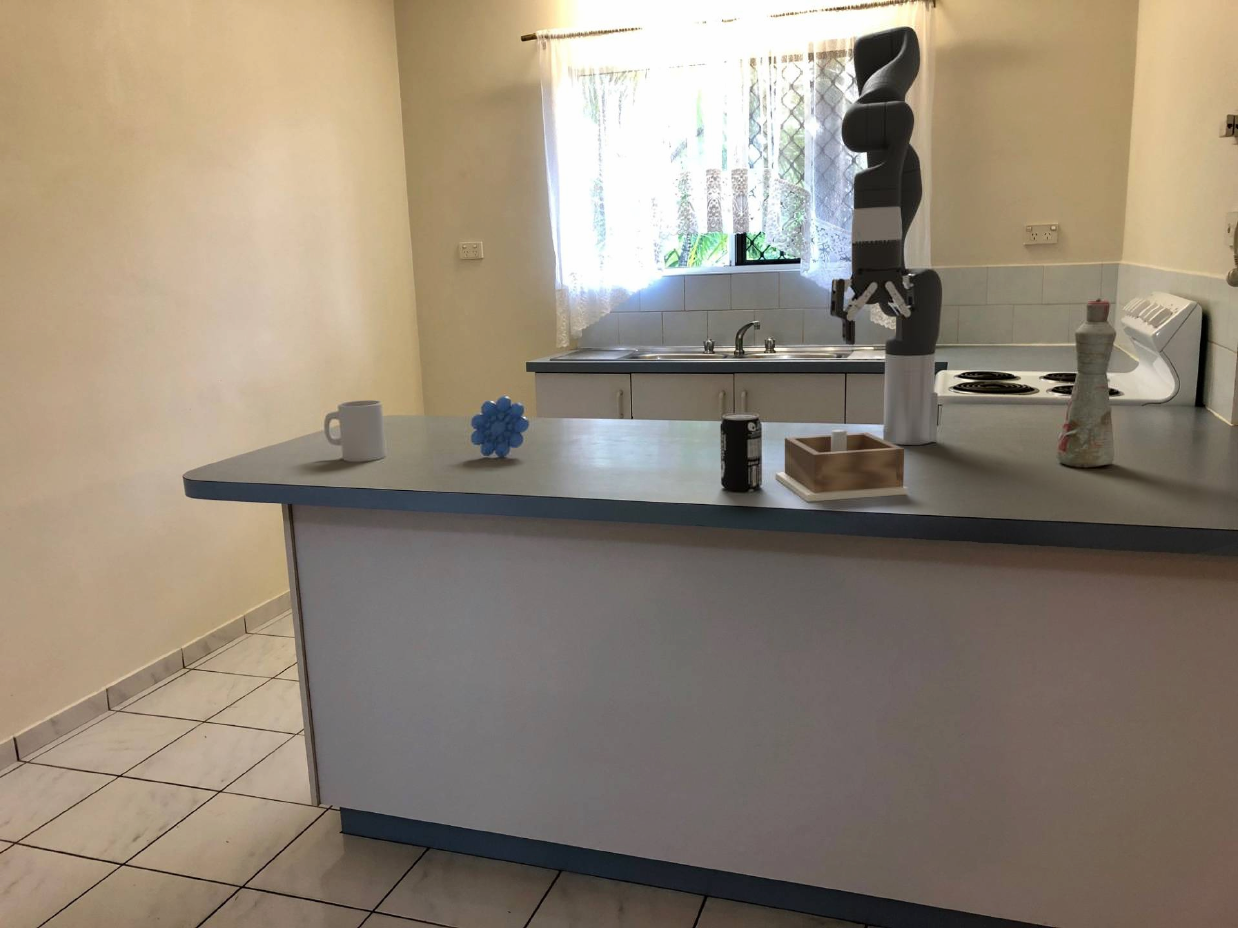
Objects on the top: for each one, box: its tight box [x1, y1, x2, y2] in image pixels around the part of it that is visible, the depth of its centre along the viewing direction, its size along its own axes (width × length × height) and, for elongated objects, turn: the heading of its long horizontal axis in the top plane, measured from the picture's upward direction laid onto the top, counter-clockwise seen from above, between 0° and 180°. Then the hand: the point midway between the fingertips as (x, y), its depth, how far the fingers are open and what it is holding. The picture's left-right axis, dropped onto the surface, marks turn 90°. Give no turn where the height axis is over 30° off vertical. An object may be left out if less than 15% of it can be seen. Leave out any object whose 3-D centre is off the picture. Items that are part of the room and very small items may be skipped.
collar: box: [784, 432, 905, 493], centre depth 153 cm, size 14×14×6 cm
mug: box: [323, 400, 387, 463], centre depth 190 cm, size 12×8×11 cm
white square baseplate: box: [774, 429, 908, 502], centre depth 152 cm, size 16×16×9 cm
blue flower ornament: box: [470, 395, 530, 458], centre depth 186 cm, size 12×7×12 cm, turn 86°
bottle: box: [1056, 298, 1117, 468], centre depth 159 cm, size 9×9×28 cm
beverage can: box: [719, 412, 763, 493], centre depth 153 cm, size 7×7×12 cm
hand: (875, 342), depth 152 cm, fingers open, 8 cm apart
